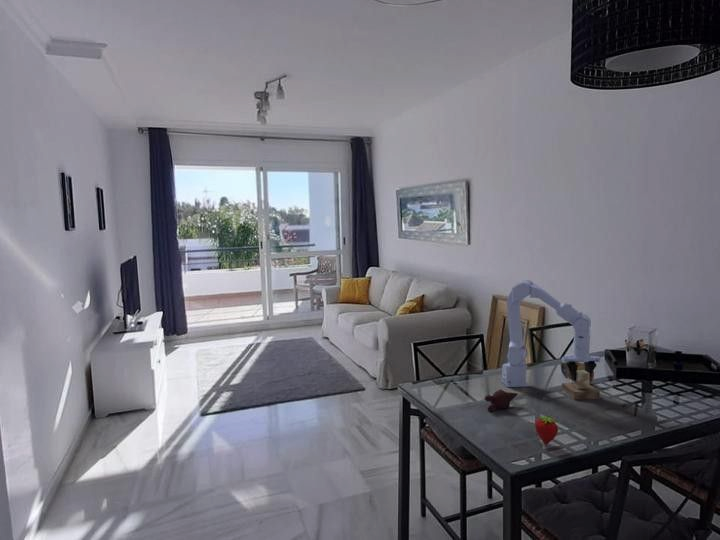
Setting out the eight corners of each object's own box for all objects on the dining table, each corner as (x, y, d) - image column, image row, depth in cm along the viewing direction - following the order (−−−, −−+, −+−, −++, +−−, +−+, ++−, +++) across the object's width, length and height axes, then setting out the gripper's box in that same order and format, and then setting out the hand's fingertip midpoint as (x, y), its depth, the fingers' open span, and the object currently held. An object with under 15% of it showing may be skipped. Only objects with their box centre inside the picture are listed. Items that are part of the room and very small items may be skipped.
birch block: (577, 388, 181) (578, 373, 181) (571, 384, 186) (572, 370, 185) (589, 388, 181) (589, 373, 181) (582, 384, 186) (583, 369, 185)
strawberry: (544, 437, 149) (545, 406, 148) (562, 447, 142) (563, 415, 141) (529, 440, 147) (530, 409, 146) (547, 451, 140) (547, 419, 139)
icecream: (508, 383, 179) (477, 394, 173) (522, 385, 173) (490, 395, 166) (512, 402, 179) (482, 412, 172) (526, 403, 172) (495, 415, 166)
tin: (560, 376, 206) (560, 357, 205) (565, 375, 208) (565, 356, 207) (589, 386, 193) (590, 366, 192) (595, 385, 194) (595, 365, 193)
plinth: (573, 399, 179) (574, 392, 179) (561, 390, 189) (561, 383, 188) (599, 398, 179) (599, 391, 179) (585, 389, 189) (586, 382, 189)
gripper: (568, 349, 178) (567, 384, 179) (605, 348, 178) (604, 382, 180) (559, 344, 185) (558, 378, 186) (595, 343, 185) (594, 376, 187)
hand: (580, 380), depth 183 cm, fingers open, 5 cm apart
